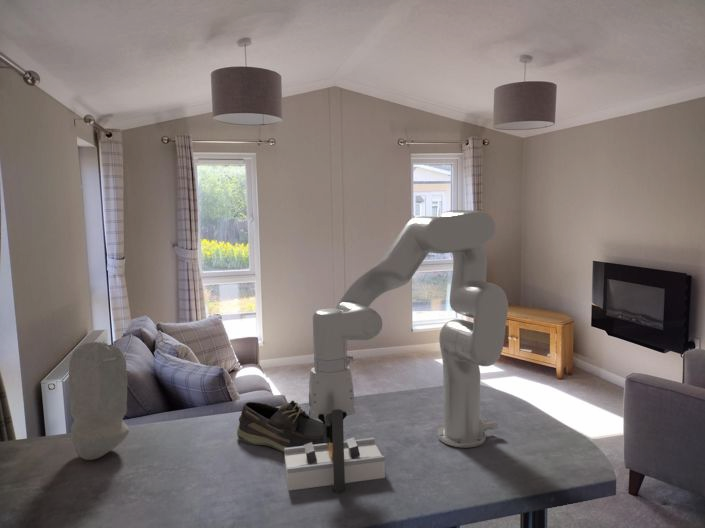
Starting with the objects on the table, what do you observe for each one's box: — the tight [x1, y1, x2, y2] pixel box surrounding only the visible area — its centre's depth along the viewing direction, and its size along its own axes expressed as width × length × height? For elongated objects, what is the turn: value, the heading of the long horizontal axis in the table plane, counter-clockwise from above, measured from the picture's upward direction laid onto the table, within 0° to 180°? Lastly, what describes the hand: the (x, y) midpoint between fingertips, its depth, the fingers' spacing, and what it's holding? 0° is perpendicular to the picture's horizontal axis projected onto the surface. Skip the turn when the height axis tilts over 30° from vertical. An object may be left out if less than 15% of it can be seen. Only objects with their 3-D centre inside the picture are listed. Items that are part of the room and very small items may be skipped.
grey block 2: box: [345, 436, 360, 458], centre depth 119 cm, size 2×4×2 cm, turn 11°
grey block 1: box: [304, 442, 317, 463], centre depth 117 cm, size 2×4×2 cm, turn 11°
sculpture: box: [68, 341, 130, 461], centre depth 128 cm, size 15×12×30 cm
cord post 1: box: [322, 413, 332, 443], centre depth 125 cm, size 2×2×18 cm
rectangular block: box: [328, 442, 333, 459], centre depth 119 cm, size 2×4×2 cm, turn 12°
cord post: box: [332, 409, 346, 494], centre depth 111 cm, size 2×2×18 cm
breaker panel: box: [283, 437, 386, 491], centre depth 119 cm, size 22×10×5 cm, turn 102°
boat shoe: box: [236, 400, 324, 453], centre depth 134 cm, size 11×29×11 cm, turn 73°
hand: (332, 439), depth 118 cm, fingers closed
